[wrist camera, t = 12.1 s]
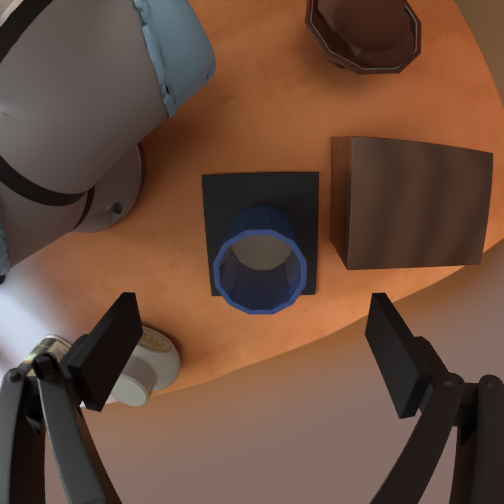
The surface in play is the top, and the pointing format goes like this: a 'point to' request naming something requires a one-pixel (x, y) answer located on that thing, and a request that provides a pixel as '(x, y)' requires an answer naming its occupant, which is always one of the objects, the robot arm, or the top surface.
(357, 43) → the ice cream bowl
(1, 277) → the storage jar
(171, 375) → the air freshener
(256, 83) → the top surface
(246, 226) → the cup
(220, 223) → the mat
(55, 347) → the coffee can
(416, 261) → the shelf
